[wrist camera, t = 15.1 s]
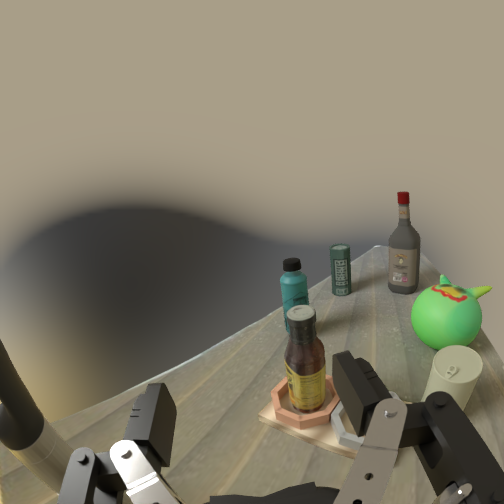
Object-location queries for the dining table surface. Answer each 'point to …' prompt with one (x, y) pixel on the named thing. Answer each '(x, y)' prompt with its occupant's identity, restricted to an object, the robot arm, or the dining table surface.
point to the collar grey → (339, 429)
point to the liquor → (404, 252)
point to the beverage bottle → (293, 286)
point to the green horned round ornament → (447, 314)
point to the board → (314, 435)
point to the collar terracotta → (304, 420)
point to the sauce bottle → (305, 361)
